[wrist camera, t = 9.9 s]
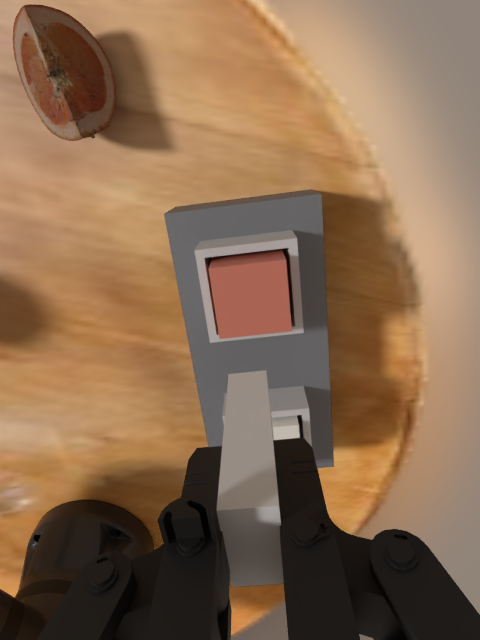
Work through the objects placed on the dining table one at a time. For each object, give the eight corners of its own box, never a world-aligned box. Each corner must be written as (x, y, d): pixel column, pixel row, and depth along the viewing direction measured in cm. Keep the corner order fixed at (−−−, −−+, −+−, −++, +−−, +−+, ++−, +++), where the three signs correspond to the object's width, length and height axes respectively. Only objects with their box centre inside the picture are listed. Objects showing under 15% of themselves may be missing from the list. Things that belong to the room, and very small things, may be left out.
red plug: (286, 311, 31) (291, 331, 28) (222, 318, 32) (219, 338, 28) (281, 247, 30) (286, 259, 26) (213, 255, 30) (208, 268, 26)
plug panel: (324, 434, 43) (341, 494, 36) (217, 443, 44) (211, 504, 36) (311, 189, 34) (330, 197, 26) (175, 207, 35) (153, 219, 27)
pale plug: (297, 443, 37) (302, 474, 34) (243, 448, 38) (243, 479, 34) (293, 397, 36) (298, 425, 32) (236, 403, 36) (235, 430, 32)
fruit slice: (138, 129, 32) (119, 123, 28) (65, 155, 33) (36, 154, 29) (94, 12, 30) (66, -16, 25) (16, 44, 30) (-26, 23, 26)
